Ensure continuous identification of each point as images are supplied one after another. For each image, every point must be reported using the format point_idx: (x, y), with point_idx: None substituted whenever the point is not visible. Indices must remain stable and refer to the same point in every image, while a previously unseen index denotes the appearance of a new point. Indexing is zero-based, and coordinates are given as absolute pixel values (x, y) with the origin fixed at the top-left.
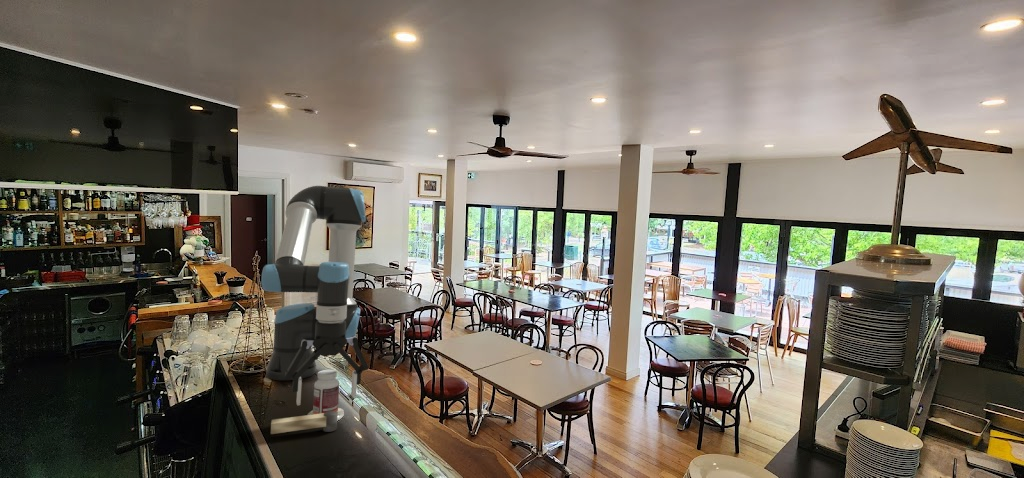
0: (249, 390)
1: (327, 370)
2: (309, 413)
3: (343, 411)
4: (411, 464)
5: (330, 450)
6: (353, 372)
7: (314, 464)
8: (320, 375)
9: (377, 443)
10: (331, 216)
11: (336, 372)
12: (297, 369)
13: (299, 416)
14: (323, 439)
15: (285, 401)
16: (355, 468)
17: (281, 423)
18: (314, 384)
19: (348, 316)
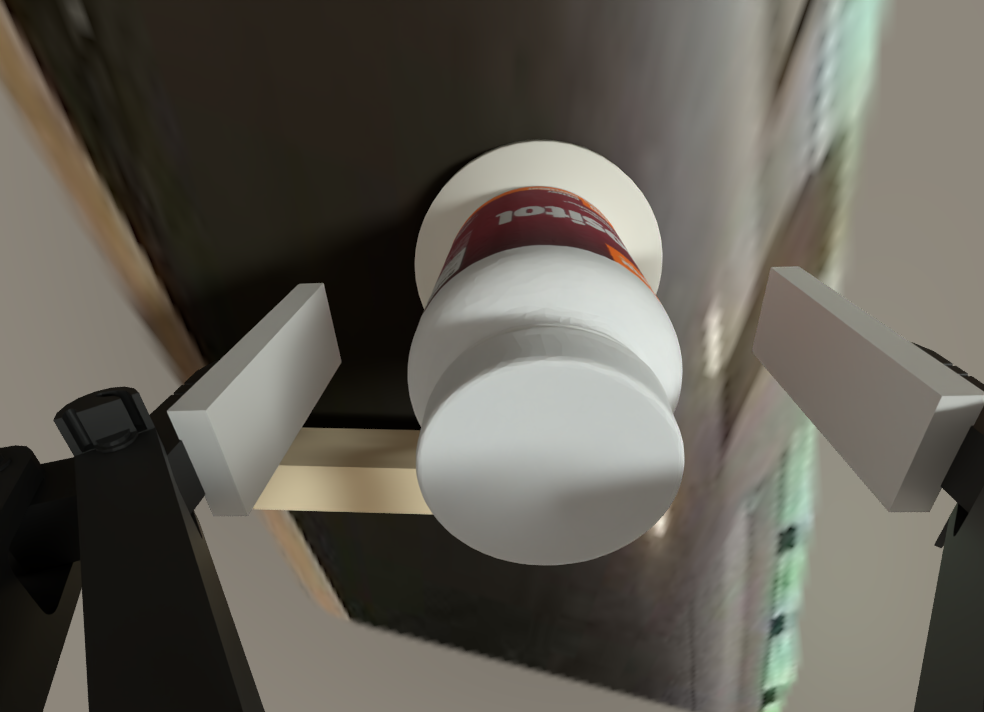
0: None
1: (562, 404)
2: (427, 234)
3: (657, 277)
4: (744, 707)
5: (517, 579)
6: (921, 446)
7: (457, 630)
8: (452, 528)
9: (702, 589)
10: None
11: (671, 501)
12: (80, 504)
13: (360, 469)
14: None
15: None
16: (578, 678)
17: (277, 506)
18: (409, 390)
19: None
